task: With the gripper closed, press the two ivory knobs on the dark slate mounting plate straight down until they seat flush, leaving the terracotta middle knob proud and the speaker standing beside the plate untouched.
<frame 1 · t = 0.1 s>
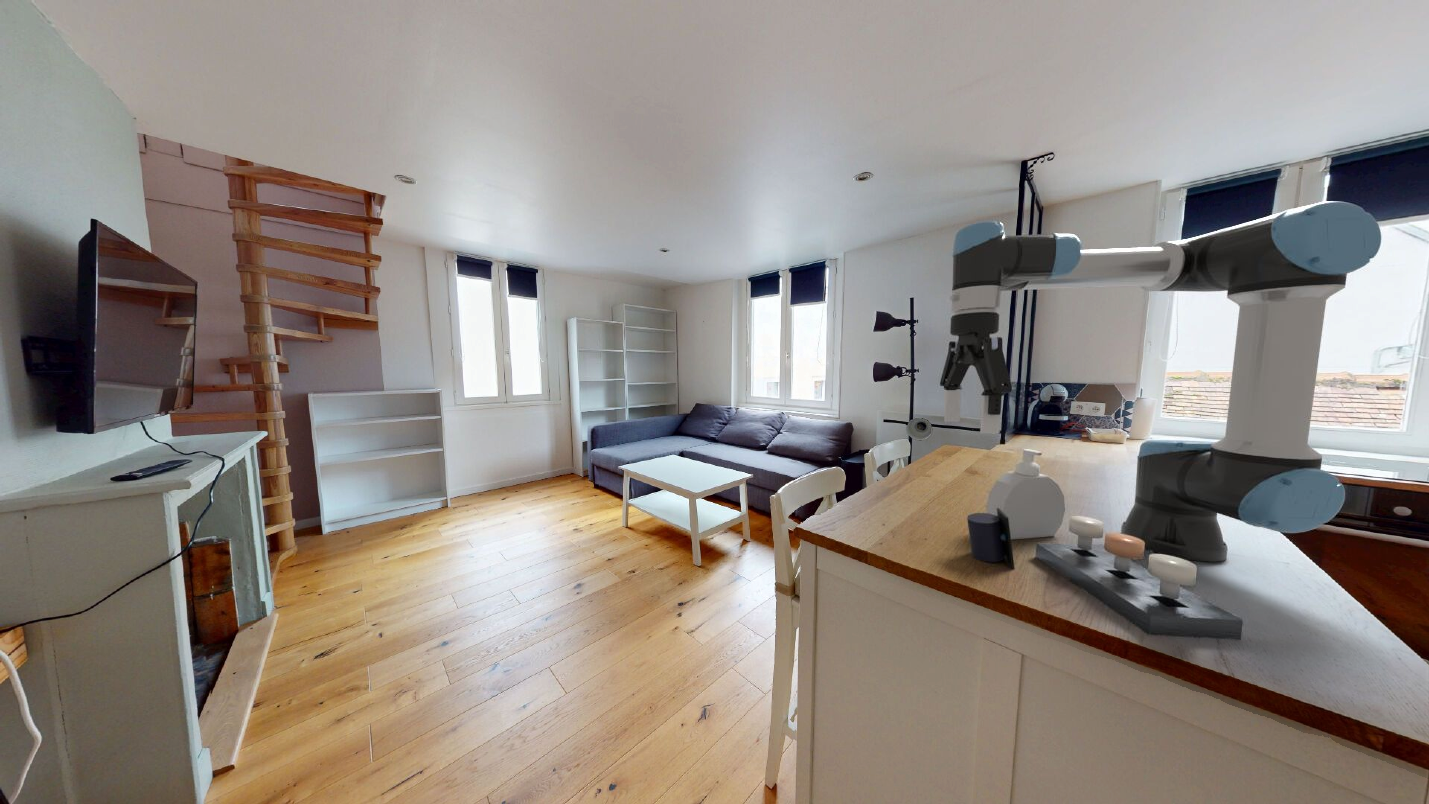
hand: (969, 427, 76), 28 cm above the worktop, fingers open, 13 cm apart
knob 1: (1085, 534, 77), point 7 cm above the worktop, slide at 0.0 cm
mount: (1119, 590, 70), on the worktop
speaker: (988, 559, 82), on the worktop
soap bottle: (1024, 534, 93), on the worktop
knob middle: (1123, 553, 69), point 7 cm above the worktop, slide at 0.0 cm
knob 2: (1170, 578, 61), point 7 cm above the worktop, slide at 0.0 cm
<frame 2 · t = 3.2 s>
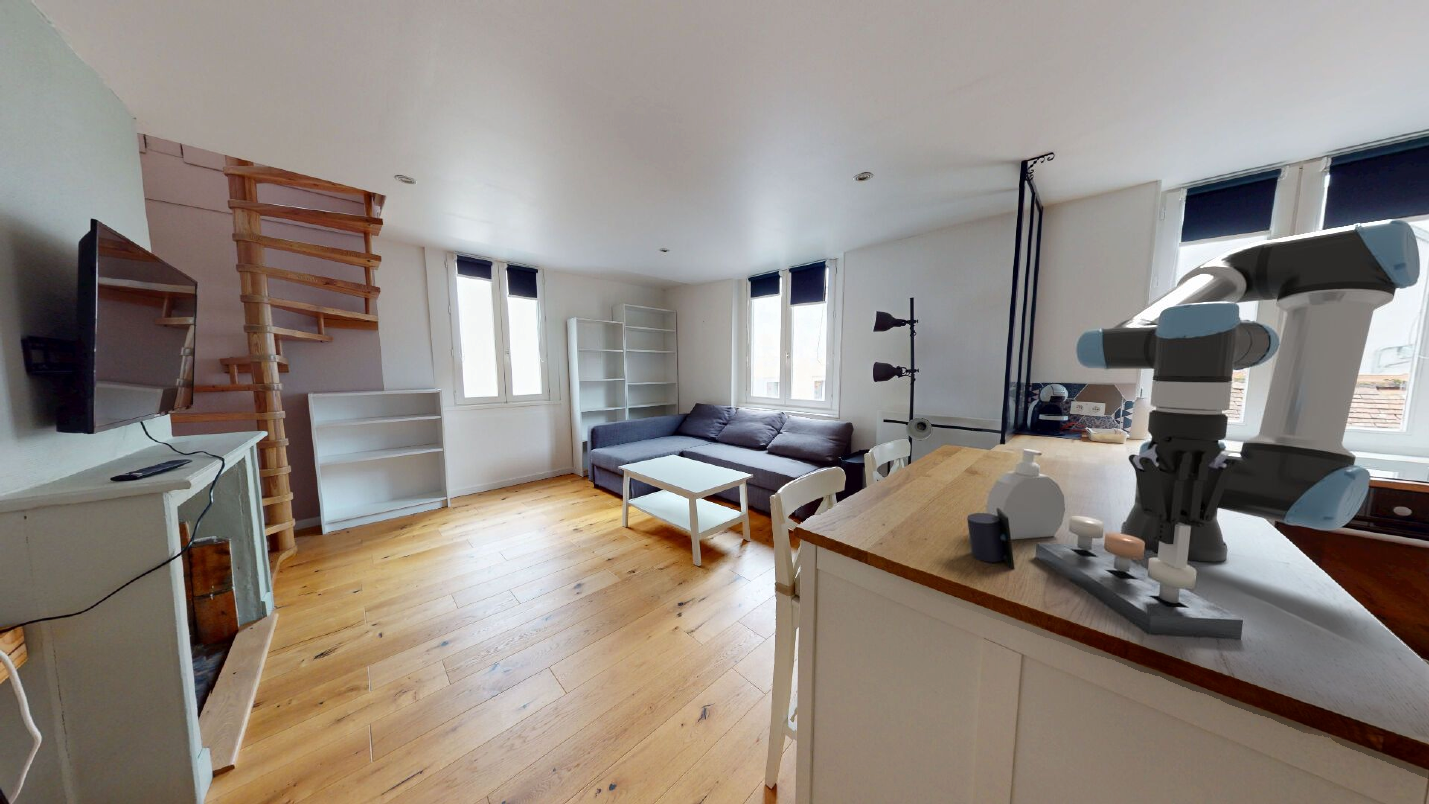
hand: (1171, 563, 61), 9 cm above the worktop, fingers closed
knob 2: (1170, 582, 62), point 6 cm above the worktop, slide at 0.6 cm, touching gripper
everything else where it was.
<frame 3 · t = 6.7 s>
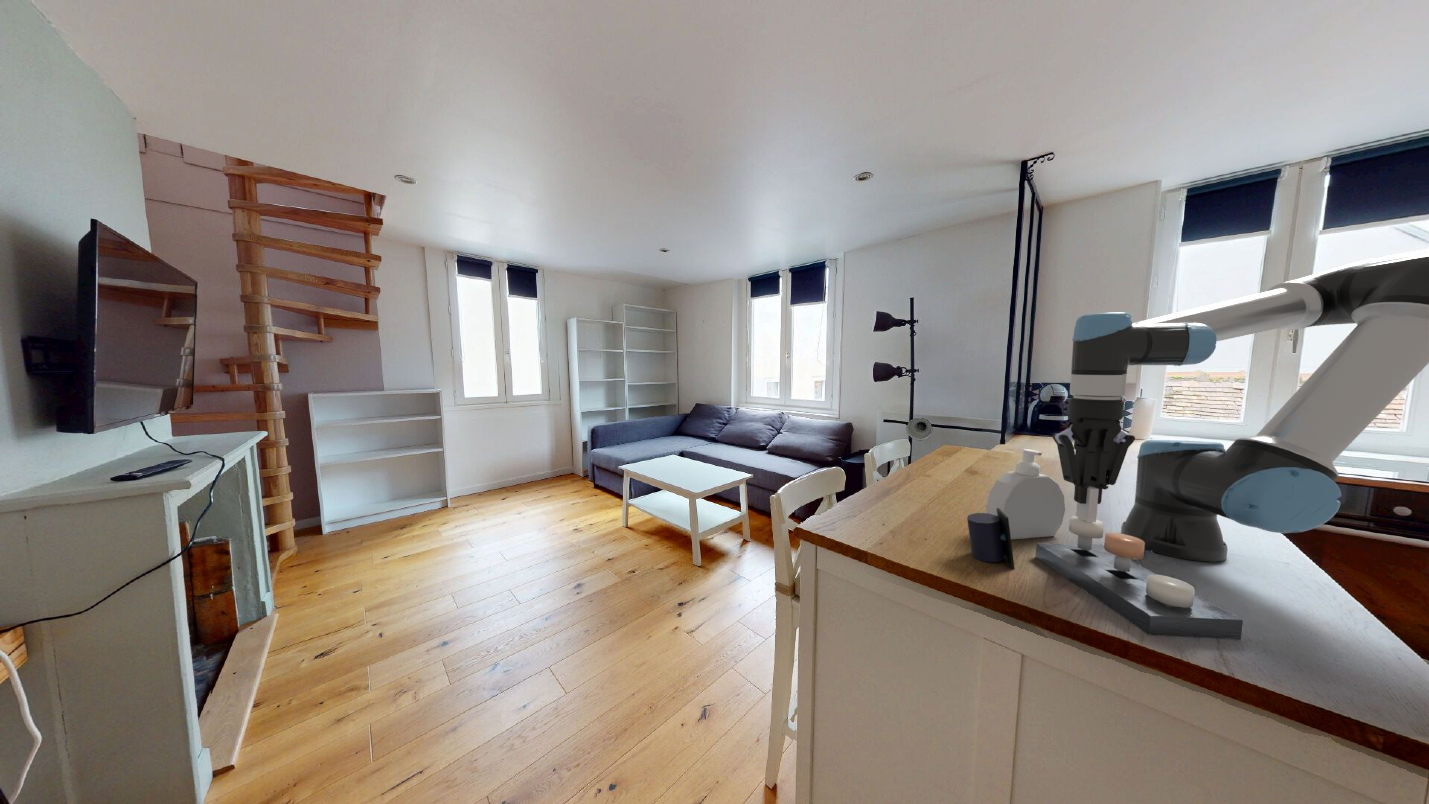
hand: (1085, 519, 77), 10 cm above the worktop, fingers closed
knob 1: (1085, 534, 77), point 7 cm above the worktop, slide at 0.0 cm, touching gripper
knob 2: (1168, 599, 62), point 3 cm above the worktop, slide at 3.5 cm
everything else where it was.
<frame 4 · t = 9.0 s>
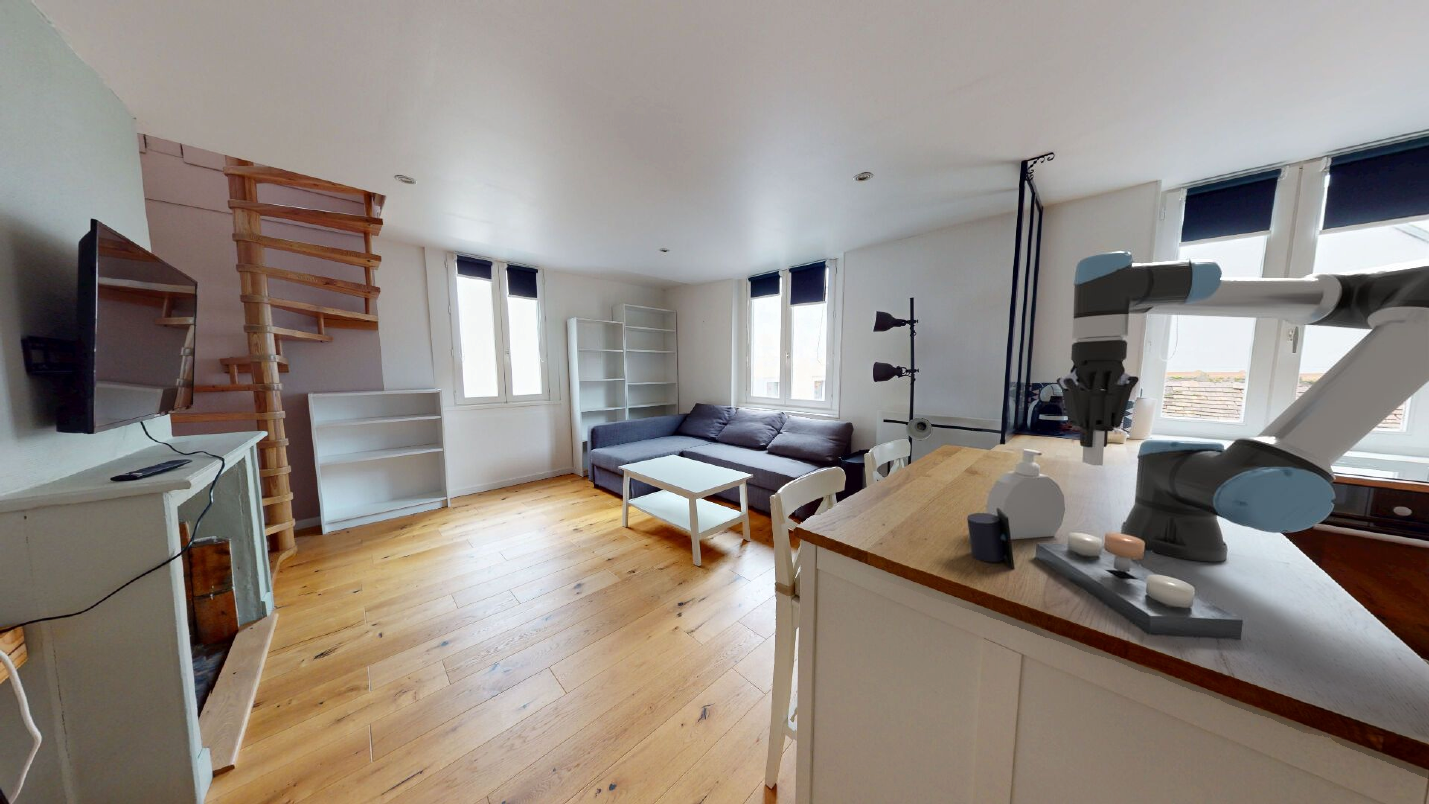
hand: (1092, 463, 77), 20 cm above the worktop, fingers closed
knob 1: (1084, 551, 78), point 3 cm above the worktop, slide at 3.5 cm
everything else where it was.
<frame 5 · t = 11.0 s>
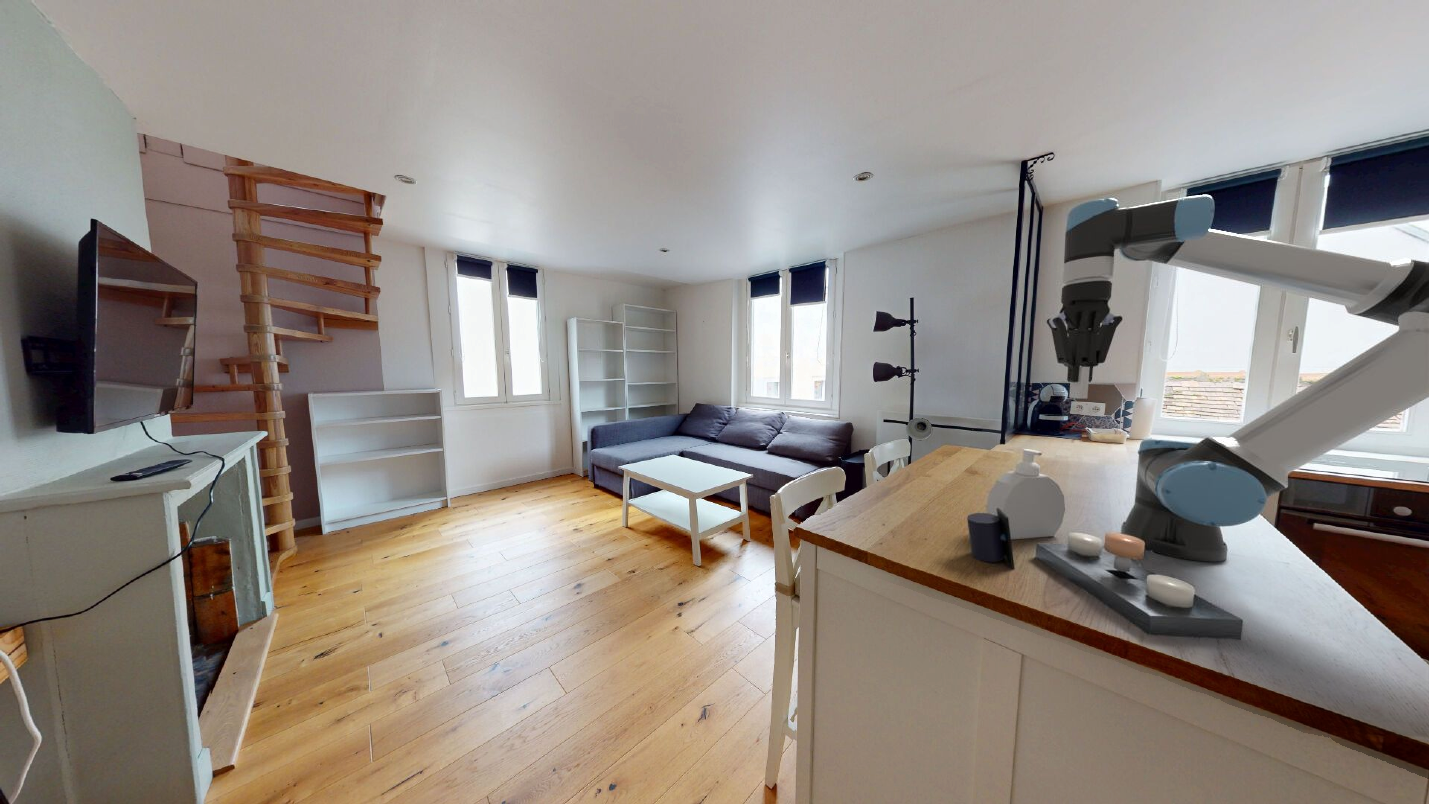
hand: (1078, 397, 84), 32 cm above the worktop, fingers closed
nothing on the worktop moved.
at the end: knob 2 slide at 3.5 cm; knob 1 slide at 3.5 cm; knob middle slide at 0.0 cm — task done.
